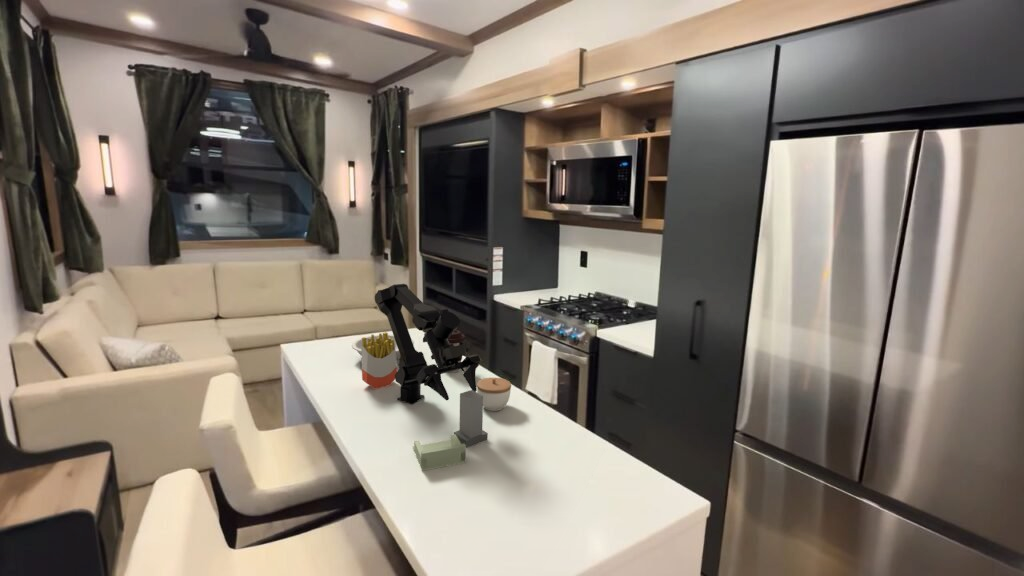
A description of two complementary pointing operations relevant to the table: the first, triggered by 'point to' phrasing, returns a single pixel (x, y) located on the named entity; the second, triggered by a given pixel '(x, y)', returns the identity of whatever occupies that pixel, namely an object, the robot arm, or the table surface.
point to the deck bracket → (440, 453)
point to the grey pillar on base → (471, 419)
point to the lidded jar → (494, 392)
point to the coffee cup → (456, 342)
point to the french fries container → (378, 361)
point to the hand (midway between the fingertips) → (461, 395)
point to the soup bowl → (357, 344)
